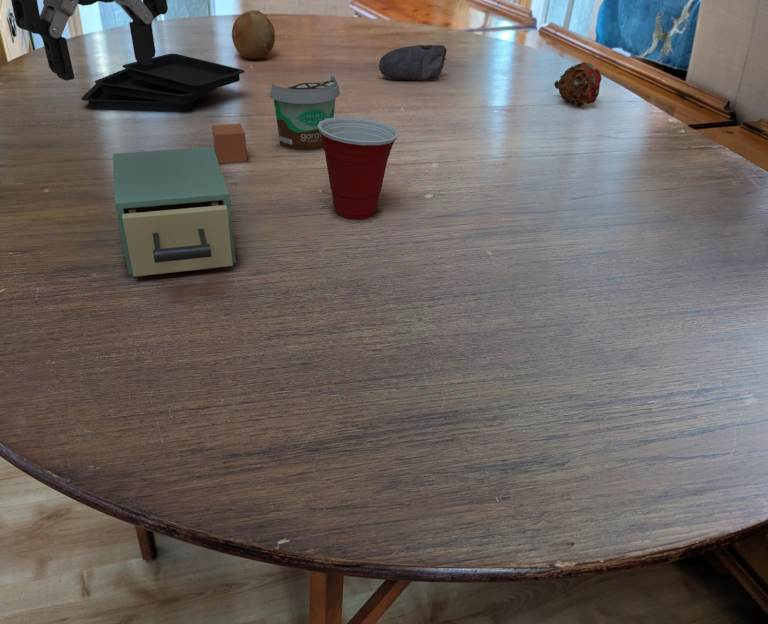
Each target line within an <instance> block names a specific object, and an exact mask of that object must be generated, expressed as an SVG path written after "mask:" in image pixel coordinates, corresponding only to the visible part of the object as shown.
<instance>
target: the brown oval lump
mask: <svg viewBox="0 0 768 624" xmlns="http://www.w3.org/2000/svg"><path fill="white" fill-rule="evenodd" d="M231 39H232V43H233V46H234V47H235V49H236V51H237V52H238V53H239V55H241V56H242V57H244V58H246V59H248V60H251V61H253V60H260V59H263V58H266V57H267V56H268V55H269V54H270V53H271V51H272V50H273V48H274V46H275V42H276V32H275V27H274V25H273V23H272V21H271V19H269V17H268V16H267V15H266V14H264V13H263V12H261V11H260V10H259V9H258V10H257V9H252V10H251V9H250V10H247V11H245V12H243V13H241V14H240V15H239V16H238V17H237V18H236V19H235V21H234V22H233V26H232V29H231Z"/></svg>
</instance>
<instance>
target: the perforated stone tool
mask: <svg viewBox="0 0 768 624" xmlns="http://www.w3.org/2000/svg"><path fill="white" fill-rule="evenodd" d="M446 56H447V48H446V47H445V45H444V44H425V45H424V44H418V45H409V46H404V47H400V48H396V49H392V50H391V51H389V52H387V53H385V54H384V55H382V57H381V58H380V60H379V62H378V63H379V64H378V70H379V71H380V74H381V75H383V76H384V77H385V78H388V79H391V80H404V81H418V82H419V81H425V80H427V79H430V80H436V79H439V77H440V76H441V73H442V70H443V68H444V65H445V61H446V60H447V58H446Z"/></svg>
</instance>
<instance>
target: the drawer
mask: <svg viewBox="0 0 768 624" xmlns="http://www.w3.org/2000/svg"><path fill="white" fill-rule="evenodd" d="M122 219H123V224H124V230H125V235H126V240H127V245H128V250H129V255H130V261H131V266H132V271H133V275H132V276H133V277H134V278H135V277H145V276H153V275H163V274H170V273H181V272H189V271H198V270H208V269H215V268H216V269H217V268H226V267H233V266H234V264H233V262H232V252H231V242H230V232H229V222H228V211H227V207H226V205H219V203H218V201H209V202H197V203H186V204H174V205H162V206H151V207H139V208H129V214H122Z"/></svg>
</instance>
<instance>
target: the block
mask: <svg viewBox="0 0 768 624" xmlns="http://www.w3.org/2000/svg"><path fill="white" fill-rule="evenodd" d="M243 128H244V127H243V126H242V124H241V123H226V124H211V131H212V141H213V142H212V143H213V148H214V151H215V154H216V157H217V160H218V163H219V165H220V164H231V163H245V162H246V163H247V162H248V155H247V141H246V140H247V139H246V132H245V130H244V129H243Z"/></svg>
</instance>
